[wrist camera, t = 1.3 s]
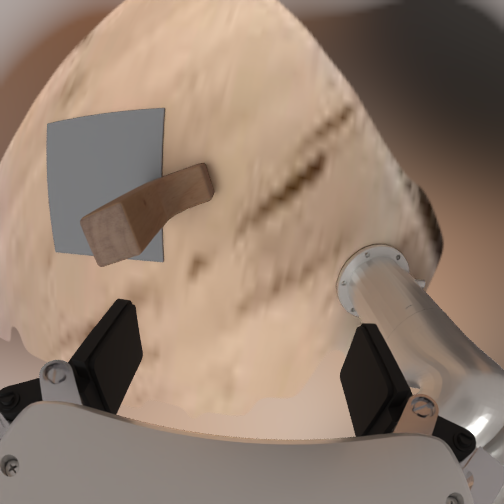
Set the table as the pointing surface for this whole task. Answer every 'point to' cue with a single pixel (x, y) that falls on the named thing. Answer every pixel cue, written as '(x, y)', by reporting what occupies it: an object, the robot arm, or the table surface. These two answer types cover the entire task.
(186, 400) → the table surface
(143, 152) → the mat
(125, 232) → the wooden block
